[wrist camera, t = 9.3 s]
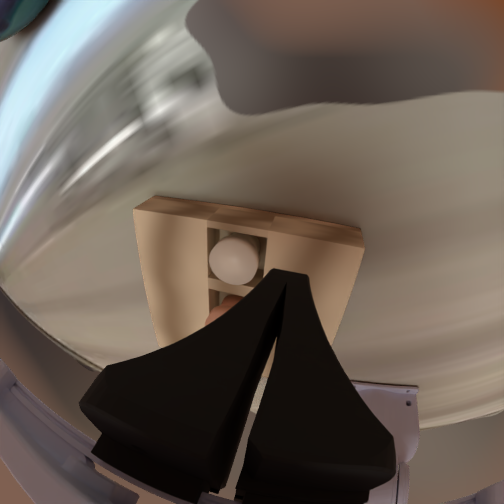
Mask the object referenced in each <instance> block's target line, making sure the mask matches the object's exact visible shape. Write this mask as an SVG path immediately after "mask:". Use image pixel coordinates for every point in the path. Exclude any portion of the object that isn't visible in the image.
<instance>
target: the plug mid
mask: <svg viewBox="0 0 504 504" xmlns="http://www.w3.org/2000/svg"><path fill="white" fill-rule="evenodd" d="M242 298H243V297H241V296H238V295H228V296H226V297H225V298H224V299H223V301H222V303H221V305H220V306H217V307H215V308H213V309H212V310H211V312H210V314H209V316H208V317H207V319H206V321H205V326H206V325H208V324H209V323H211V322H212V321H214V320H215V319H217V318H218V317H220V316H221V315H222V314H224V313H225V312H226V311H228V310H229V309H230V308H231V307H233V306H234V305H235V304H236V303H238V302H239V301H240V300H241V299H242Z"/></svg>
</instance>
